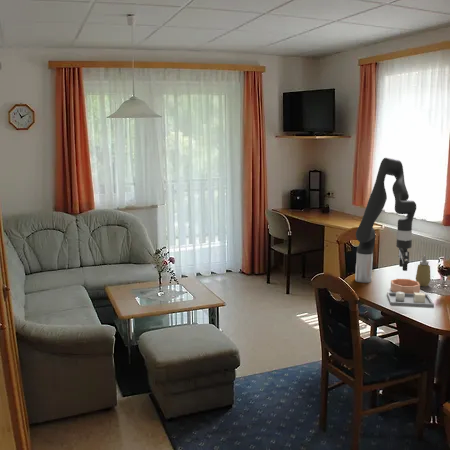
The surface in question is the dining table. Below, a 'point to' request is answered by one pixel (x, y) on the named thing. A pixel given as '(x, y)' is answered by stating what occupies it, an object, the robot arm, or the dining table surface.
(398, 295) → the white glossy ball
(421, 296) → the sandy stone
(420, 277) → the squeeze bottle
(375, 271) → the dining table surface
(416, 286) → the bowl
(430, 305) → the parts tray
